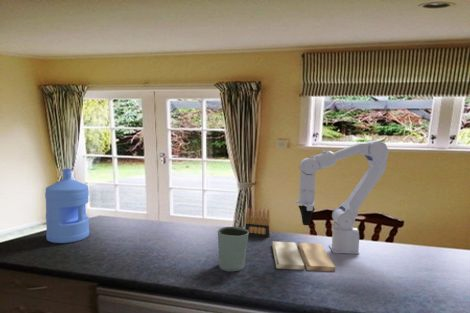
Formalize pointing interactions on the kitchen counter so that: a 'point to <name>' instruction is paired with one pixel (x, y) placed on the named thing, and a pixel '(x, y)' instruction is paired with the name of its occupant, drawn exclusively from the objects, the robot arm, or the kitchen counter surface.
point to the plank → (287, 255)
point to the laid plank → (315, 257)
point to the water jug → (66, 210)
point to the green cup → (232, 248)
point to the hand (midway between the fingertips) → (305, 224)
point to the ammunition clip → (258, 223)
